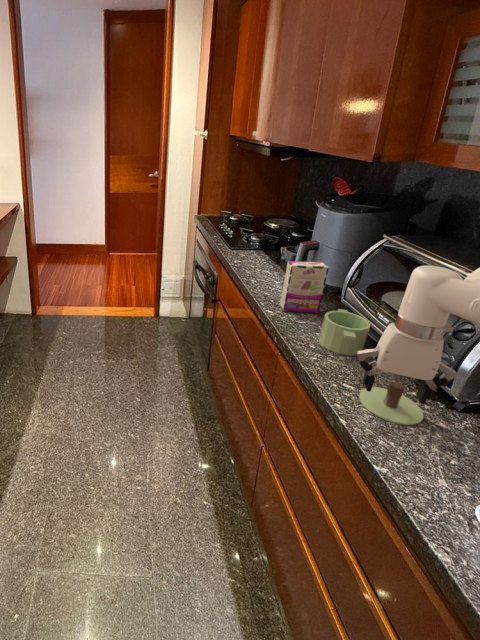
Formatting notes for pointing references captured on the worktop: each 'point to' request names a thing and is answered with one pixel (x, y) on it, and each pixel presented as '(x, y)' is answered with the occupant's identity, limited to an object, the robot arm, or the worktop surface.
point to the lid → (391, 404)
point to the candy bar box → (303, 286)
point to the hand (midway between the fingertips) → (393, 393)
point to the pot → (344, 332)
